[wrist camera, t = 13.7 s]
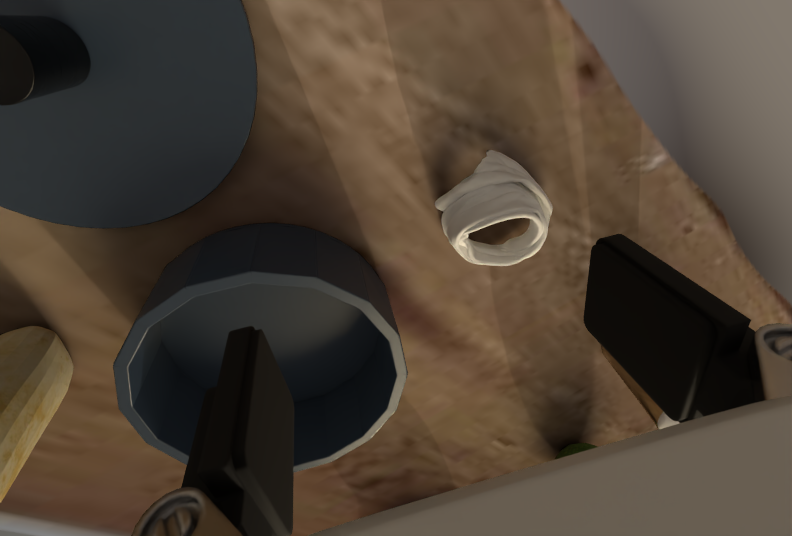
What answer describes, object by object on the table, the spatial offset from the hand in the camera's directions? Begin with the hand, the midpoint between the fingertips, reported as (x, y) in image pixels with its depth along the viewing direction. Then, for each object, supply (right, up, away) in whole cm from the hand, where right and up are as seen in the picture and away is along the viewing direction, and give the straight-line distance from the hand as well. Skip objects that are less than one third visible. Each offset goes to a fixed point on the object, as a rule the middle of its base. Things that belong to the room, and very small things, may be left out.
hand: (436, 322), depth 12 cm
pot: (-9, -3, +17) cm, 20 cm away
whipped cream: (+5, +5, +16) cm, 17 cm away
